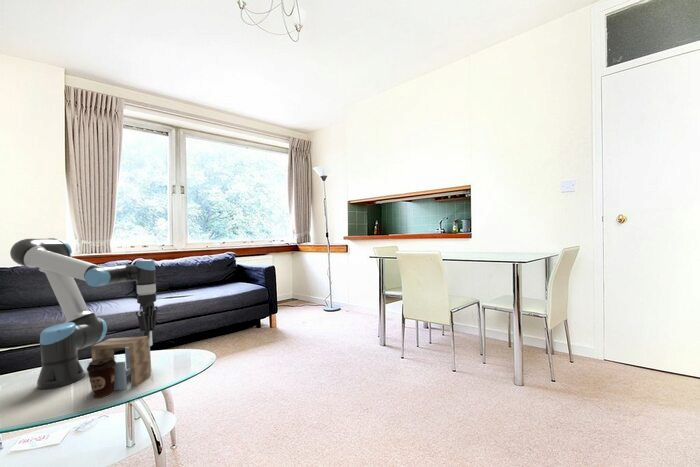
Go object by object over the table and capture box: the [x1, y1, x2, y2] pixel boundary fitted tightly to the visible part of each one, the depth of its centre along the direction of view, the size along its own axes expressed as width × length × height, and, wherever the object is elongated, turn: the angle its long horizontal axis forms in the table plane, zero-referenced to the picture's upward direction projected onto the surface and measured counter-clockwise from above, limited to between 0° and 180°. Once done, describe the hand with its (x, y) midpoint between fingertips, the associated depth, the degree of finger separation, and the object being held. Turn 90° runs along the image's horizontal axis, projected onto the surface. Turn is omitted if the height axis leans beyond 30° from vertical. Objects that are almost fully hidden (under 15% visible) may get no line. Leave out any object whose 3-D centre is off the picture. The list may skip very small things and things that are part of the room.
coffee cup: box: [86, 357, 117, 399], centre depth 125 cm, size 9×8×13 cm
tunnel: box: [90, 335, 152, 387], centre depth 137 cm, size 10×16×17 cm, turn 90°
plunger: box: [114, 345, 153, 391], centre depth 138 cm, size 18×11×11 cm, turn 0°
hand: (148, 345), depth 156 cm, fingers closed
